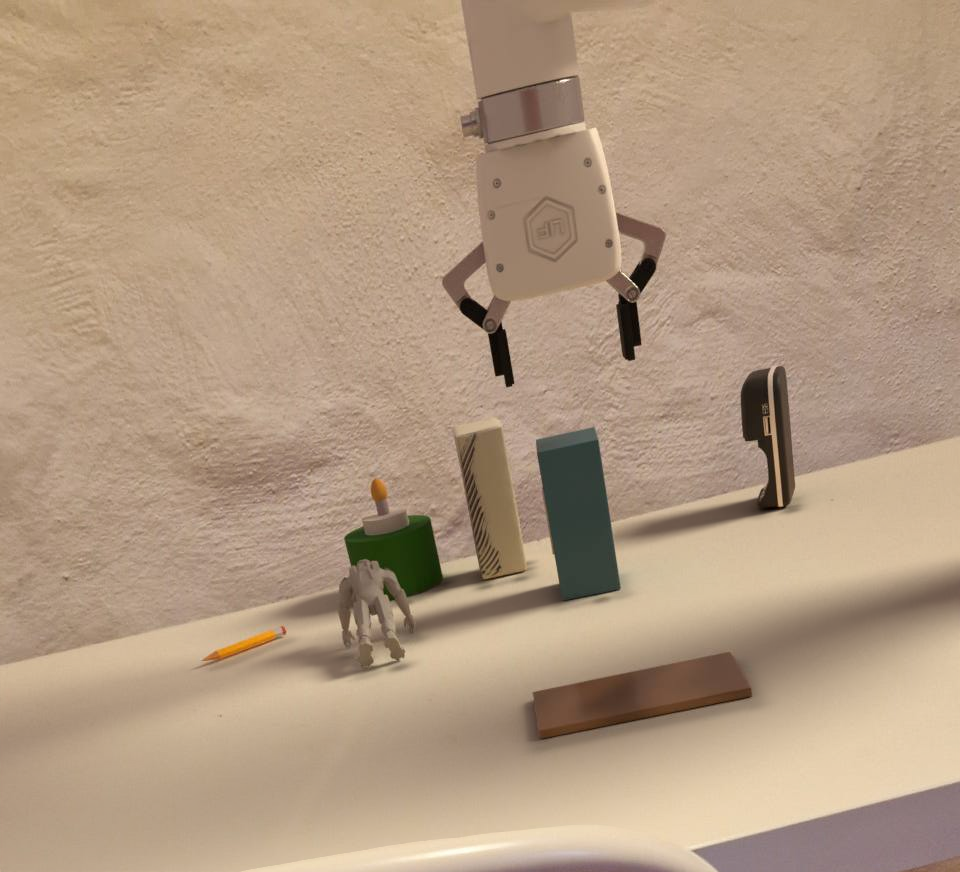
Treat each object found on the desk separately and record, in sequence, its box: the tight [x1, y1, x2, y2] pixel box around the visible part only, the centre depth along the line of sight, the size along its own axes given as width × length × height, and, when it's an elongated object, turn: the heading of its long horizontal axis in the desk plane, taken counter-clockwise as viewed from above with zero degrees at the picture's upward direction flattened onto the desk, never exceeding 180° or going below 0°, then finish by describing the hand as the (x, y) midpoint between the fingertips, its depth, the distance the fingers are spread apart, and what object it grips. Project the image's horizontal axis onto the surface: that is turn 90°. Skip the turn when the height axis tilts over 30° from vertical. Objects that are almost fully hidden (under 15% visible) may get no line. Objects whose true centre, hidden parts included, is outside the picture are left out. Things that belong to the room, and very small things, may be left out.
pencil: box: [200, 625, 287, 662], centre depth 125 cm, size 1×9×1 cm, turn 123°
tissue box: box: [535, 426, 622, 602], centre depth 117 cm, size 12×6×5 cm
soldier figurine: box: [337, 559, 417, 669], centre depth 117 cm, size 6×5×12 cm
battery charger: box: [740, 365, 796, 509], centre depth 129 cm, size 7×4×11 cm, turn 165°
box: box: [452, 416, 528, 580], centre depth 127 cm, size 5×4×13 cm
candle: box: [343, 477, 444, 601], centre depth 131 cm, size 8×8×10 cm
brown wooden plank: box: [532, 651, 753, 740], centre depth 94 cm, size 14×8×1 cm, turn 91°
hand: (569, 371), depth 111 cm, fingers open, 9 cm apart
